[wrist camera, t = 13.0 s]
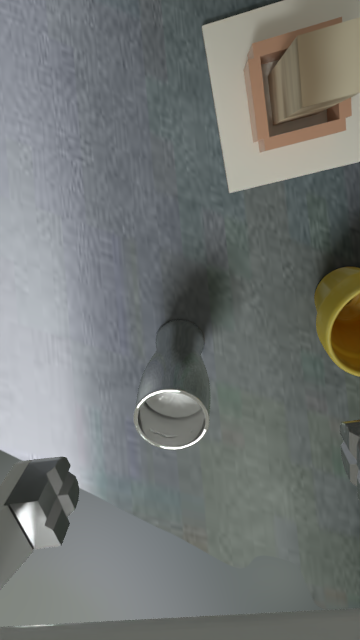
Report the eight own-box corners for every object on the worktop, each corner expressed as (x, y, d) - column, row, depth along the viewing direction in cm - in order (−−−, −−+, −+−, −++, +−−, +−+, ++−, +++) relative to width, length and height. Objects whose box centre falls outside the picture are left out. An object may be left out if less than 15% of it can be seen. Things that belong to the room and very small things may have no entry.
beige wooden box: (312, 63, 30) (362, 16, 21) (316, 114, 32) (364, 90, 22) (267, 76, 31) (297, 35, 22) (272, 125, 32) (302, 107, 23)
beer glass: (171, 305, 41) (157, 373, 27) (218, 334, 42) (228, 413, 28) (142, 347, 43) (116, 428, 30) (187, 373, 45) (182, 463, 31)
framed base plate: (366, -22, 28) (389, -49, 25) (368, 158, 34) (388, 157, 30) (201, 29, 30) (202, 10, 27) (228, 192, 35) (232, 194, 32)
